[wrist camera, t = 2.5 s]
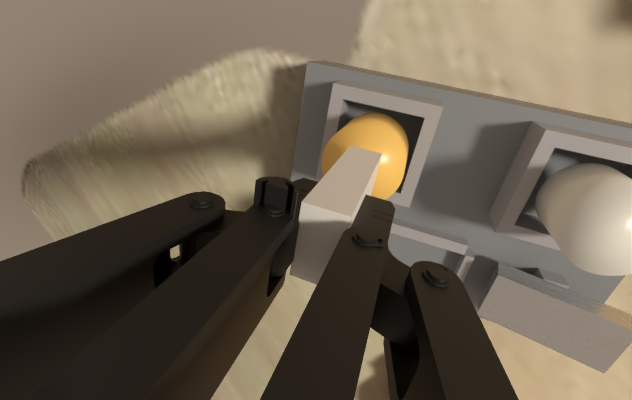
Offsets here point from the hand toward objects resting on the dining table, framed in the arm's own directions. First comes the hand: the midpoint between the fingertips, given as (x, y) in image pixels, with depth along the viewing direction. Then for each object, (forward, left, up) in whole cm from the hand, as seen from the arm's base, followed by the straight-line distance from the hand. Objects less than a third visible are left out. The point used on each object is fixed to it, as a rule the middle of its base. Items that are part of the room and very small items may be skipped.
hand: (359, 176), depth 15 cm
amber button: (0, 0, -6) cm, 6 cm away
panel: (+6, -4, -13) cm, 14 cm away
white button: (+12, 0, -6) cm, 13 cm away
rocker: (+14, -8, -6) cm, 17 cm away
